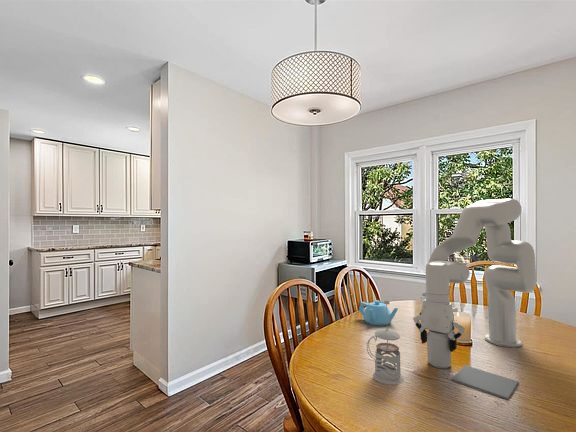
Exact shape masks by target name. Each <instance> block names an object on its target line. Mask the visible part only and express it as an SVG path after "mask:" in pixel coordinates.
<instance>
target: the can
mask: <svg viewBox="0 0 576 432" xmlns="http://www.w3.org/2000/svg"><path fill="white" fill-rule="evenodd" d="M450 339H451V338H450V336H449V335H448V334H444V333H440V332H436V331H432V330H428V331H427V342H426V344H427V346H426V347H427V349H426V350H427V362H428V363H429V364H430V365H431V366H432V367H434V368H437V369H447V368H449V367H450V366H451V365H452V352H451V351H450Z"/></svg>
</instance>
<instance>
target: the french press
mask: <svg viewBox="0 0 576 432" xmlns="http://www.w3.org/2000/svg"><path fill="white" fill-rule="evenodd" d="M383 301H384V304H385V305H386V311H387V307H388V305H390V301H389V300H388V299H385V300H383ZM400 338H401V334H399V333H398V332H397V331H396V330H393V329H390V328H388V326H386V328H383V329H382V328H381V329H378V330H377V331H375V332H374V335H373V336H371V337H370V338H369V339H368V341H367V343H366V350H367V354H368V355H369V357H370V358H371V359H373V360H374V368H375V369H374V371H373V373H372V377H373V378H374V380H376V381H377V382H379V383H381V384H386V385H393V386H394V385H400V384H402V383H403V382H405V378H404V376H403V374H401V352H400V351H399V350H400V347H399V346H398V345H396V344H394V343H390V342H389V341H397V340H400ZM372 339H374V342H376V341H377V340H378V339H381V340H383V341H386V342H380V343H378V344H376V347H375V348H376V350H375V351H374V352H375V355H374V354H372V351H371V349H370V341H371V340H372ZM371 355H372V356H371Z"/></svg>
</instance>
